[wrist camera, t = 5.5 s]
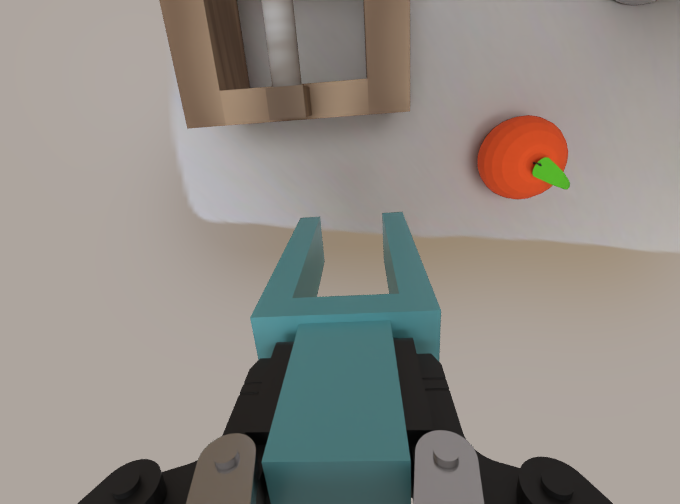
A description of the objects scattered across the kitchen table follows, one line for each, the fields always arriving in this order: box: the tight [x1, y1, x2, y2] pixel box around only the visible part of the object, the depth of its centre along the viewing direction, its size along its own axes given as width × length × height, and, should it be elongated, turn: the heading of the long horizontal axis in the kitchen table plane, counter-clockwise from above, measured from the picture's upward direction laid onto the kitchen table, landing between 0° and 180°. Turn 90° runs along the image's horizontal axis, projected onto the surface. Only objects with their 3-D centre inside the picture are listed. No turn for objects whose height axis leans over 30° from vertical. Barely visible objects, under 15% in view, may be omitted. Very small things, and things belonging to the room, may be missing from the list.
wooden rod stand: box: [159, 0, 410, 128], centre depth 25 cm, size 14×12×15 cm
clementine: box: [478, 115, 570, 199], centre depth 31 cm, size 8×7×7 cm
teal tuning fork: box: [250, 212, 441, 504], centre depth 15 cm, size 6×3×16 cm, turn 94°
